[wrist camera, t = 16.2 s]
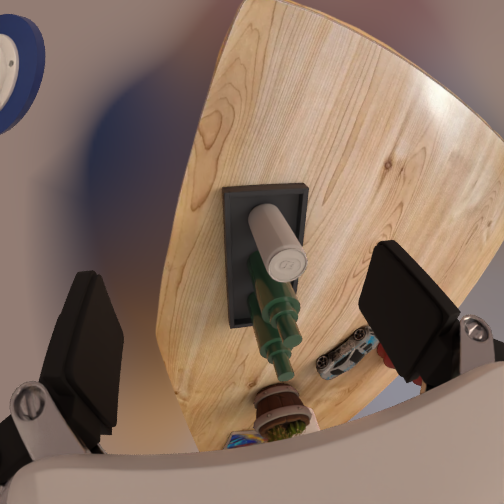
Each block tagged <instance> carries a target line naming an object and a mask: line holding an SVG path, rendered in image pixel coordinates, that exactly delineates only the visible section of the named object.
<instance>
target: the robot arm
mask: <svg viewBox="0 0 504 504" xmlns="http://www.w3.org/2000/svg"><path fill="white" fill-rule="evenodd" d="M18 70H19V55H18V50H17V47H16V45H15V43H14V41H13V40H12V39H11V38H10V37H9V36H7V35H4V34H0V111H1V110H2V109H3V107H4V106H5V104H6V103H7V102H8V100H9V98H10V96H11V94H12V92H13V90H14V87H15V84H16V80H17V77H18ZM358 305H359V309H360V311H361V313H362V314H363V316H364V317H365V319H366V321H367V322H368V324H369V325H370V327H371V329H372V330H373V332H374V334H375V335H376V337H377V339H378V340H379V342H380V344H381V345H382V347H383V349H384V350H385V352H386V354H387V355H388V357H389V359H390V360H391V362H392V364H393V365H394V367H395V369H396V371H397V372H398V374H399V375H400V376H401V377H403V378H404V379H405V381H406V383H409V382H411V381H413V380H416V379H418V378H419V376H420V377H421V378H422V384H421V390H420V395H418V396H416V397H414V398H411V399H409V400H407V401H404V402H402V403H400V404H397V405H395V406H392V407H390V408H387V409H384V410H382V411H379V412H376V413H374V414H371V415H368V416H365V417H363V418H359V419H357V420H354V421H350V422H347V423H344V424H341V425H338V426H334V427H331V428H328V429H324V430H320V431H317V432H313V433H309V434H305V435H301V436H297V437H293V438H288V439H284V440H279V441H274V442H269V443H263V444H258V445H252V446H246V447H239V448H232V449H225V450H216V451H207V452H196V453H182V454H160V455H114V454H107V453H106V452H105V450H104V449H103V448H102V447H101V445H100V444H99V442H100V435H112V427H115V426H116V424H117V407H118V393H119V381H120V370H121V360H122V351H123V343H124V336H123V331H122V329H121V326H120V324H119V322H118V319H117V317H116V314H115V312H114V309H113V306H112V304H111V301H110V298H109V296H108V293H107V290H106V288H105V285H104V282H103V279H102V277H101V275H99V274H98V275H97V274H96V272H95V271H93V270H92V271H82V272H78V273H77V274H76V276H75V279H74V281H73V284H72V286H71V288H70V291H69V293H68V296H67V299H66V302H65V304H64V307H63V309H62V312H61V314H60V315H59V317H58V319H57V322H56V325H55V328H54V331H53V334H52V337H51V340H50V343H49V346H48V350H47V353H46V356H45V360H44V363H43V367H42V371H41V374H40V378H39V382H35V381H29V382H25V383H23V384H21V385H20V386H19V387H18V388H17V389H16V390H15V391H14V393H13V394H12V397H11V400H10V412H11V415H9V416H8V417H7V418H6V419H5V420H3V421H2V422H1V423H0V504H504V343H503V342H501V341H498V340H495V339H493V336H492V331H491V329H490V327H489V325H488V324H487V323H486V322H485V321H484V320H483V319H481V318H480V317H477V316H475V315H465V316H463V317H462V319H461V320H460V322H459V320H458V319H457V318H458V316H459V314H460V311H459V309H458V308H457V307H456V306H455V305H454V303H453V302H452V301H451V300H450V299H449V298H448V296H447V295H446V294H445V293H444V292H443V291H442V290H441V288H440V287H439V286H438V285H437V284H436V283H435V282H434V281H433V280H432V278H431V277H430V276H429V275H428V274H427V273H426V272H425V271H424V270H423V269H422V268H421V267H420V266H419V264H418V263H417V262H416V261H415V260H414V259H413V258H412V257H411V256H410V255H409V254H408V253H407V252H406V251H405V250H404V249H403V248H402V247H401V246H400V245H399V244H398V243H397V242H396V241H395V240H388V241H380V242H379V243H378V244H377V246H375V247H374V250H373V254H372V257H371V261H370V265H369V268H368V272H367V275H366V279H365V282H364V285H363V289H362V292H361V295H360V298H359V303H358Z"/></svg>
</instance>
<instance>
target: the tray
mask: <svg viewBox="0 0 504 504" xmlns="http://www.w3.org/2000/svg"><path fill="white" fill-rule="evenodd" d="M308 192H309V188H308V187H307V186H306V185H305V184H304V183H289V184H267V185H249V186H234V187H222V194H223V220H224V244H225V264H226V283H227V301H228V318H229V325H230V329H232V328H241V327H248V326H252V322H251V318H250V314H249V311H248V307H247V303H246V302H247V298H248V296H249V295H250V294H251V293H252V292H254V290H253V286H252V283H251V280H250V276H249V273H248V270H247V266H246V263H247V260H248V258H249V256H250V255H251V254H252V253H254V252H255V251H257V250H258V247H257V245H256V242H255V239H254V237H253V234H252V231H251V229H250V226H249V223H248V217H249V214H250V212H251V211H252V210H253V208H255V207H257V206H259V205H262V204H272V205H275V206H276V207H277V208H278V209H279V210H280V212H281V214H282V215H283V217H284V218H285V220H286V222H287V223H288V225H289V226H290V228H291V230H292V231H293V233H294V235H295V236H296V238H297V239H298V241H299V243H300V244H301V246H303V238H304V229H305V220H306V211H307V202H308ZM298 278H299V277H298ZM298 278H297V279H295V280H293V281H290V283H291V286H292V288H293V290H294V292H295V294H296V292H297V285H298Z"/></svg>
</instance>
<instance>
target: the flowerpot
mask: <svg viewBox="0 0 504 504" xmlns="http://www.w3.org/2000/svg"><path fill="white" fill-rule="evenodd" d="M253 404H254V406H255V408H256V409H257V412H256V420H255V422H254V426H253V428H254V429H255V431H256V433H258V434H260V435H261V436H262V437H263V438H268V441H267V440H266V441H267V443H269V442H274V441H279V440H284V439H288V438H292V436H293V435H294V434H295V436H297V435H298V434H299V436H300V435H301V433H303V431H304V430H306V426H308V425H309V424H310V420H311V417H312V414H311V412H310V410H309V409H308V408H307V407H305V406H304V405H303V403H302V402H301V400H300V399H299V393H298V392H297V390H296V389H295V388H294V387H292V386H290V385H289V384H283V383H280V384H276V386H275V385H271V386H268V387H266V388H264V389H263V390H261V391H260V392H259V393H258V394H257V396H256V398H255V402H254V403H253ZM304 433H305V432H304ZM303 435H304V434H303Z"/></svg>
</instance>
